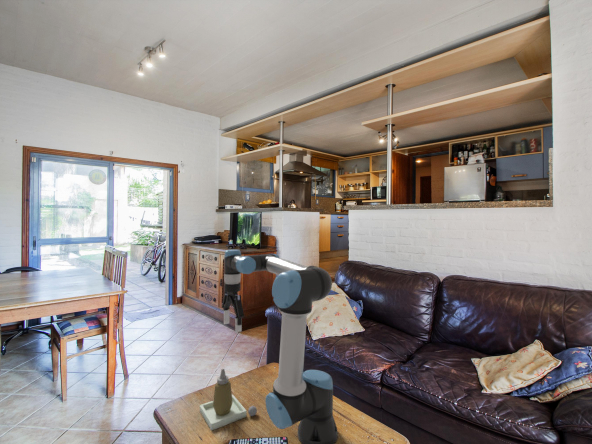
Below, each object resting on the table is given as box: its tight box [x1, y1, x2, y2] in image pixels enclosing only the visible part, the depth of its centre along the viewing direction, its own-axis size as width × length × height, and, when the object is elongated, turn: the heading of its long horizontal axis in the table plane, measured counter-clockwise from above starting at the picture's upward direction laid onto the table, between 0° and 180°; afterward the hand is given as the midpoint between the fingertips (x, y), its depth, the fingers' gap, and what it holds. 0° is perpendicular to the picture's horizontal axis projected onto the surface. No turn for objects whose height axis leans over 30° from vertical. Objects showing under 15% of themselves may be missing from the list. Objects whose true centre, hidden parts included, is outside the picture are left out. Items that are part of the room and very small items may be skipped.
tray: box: [199, 393, 248, 432], centre depth 127 cm, size 15×15×2 cm
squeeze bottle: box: [212, 368, 233, 416], centre depth 127 cm, size 8×8×18 cm
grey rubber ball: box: [247, 405, 258, 417], centre depth 126 cm, size 4×4×4 cm
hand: (232, 327), depth 141 cm, fingers open, 13 cm apart
